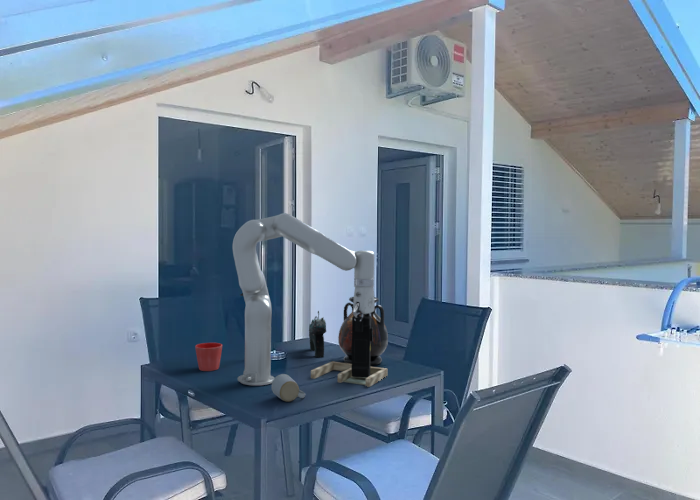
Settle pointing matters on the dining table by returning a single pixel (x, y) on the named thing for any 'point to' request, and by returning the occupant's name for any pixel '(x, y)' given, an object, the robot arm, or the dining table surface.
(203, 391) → the dining table surface
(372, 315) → the amphora vase
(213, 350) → the flower pot
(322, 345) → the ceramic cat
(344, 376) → the slot rack
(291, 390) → the ceramic mug
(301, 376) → the dining table surface
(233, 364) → the dining table surface
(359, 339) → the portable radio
